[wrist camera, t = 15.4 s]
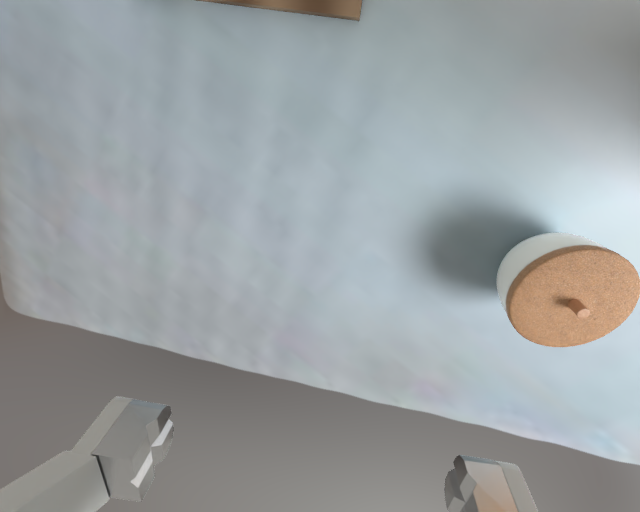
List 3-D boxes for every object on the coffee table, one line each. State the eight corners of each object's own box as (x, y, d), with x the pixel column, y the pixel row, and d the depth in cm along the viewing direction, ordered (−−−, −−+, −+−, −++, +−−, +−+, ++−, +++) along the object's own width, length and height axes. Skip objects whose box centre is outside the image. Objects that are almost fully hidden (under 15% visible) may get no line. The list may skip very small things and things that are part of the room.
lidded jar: (517, 317, 41) (557, 377, 32) (463, 260, 38) (491, 309, 30) (607, 264, 36) (680, 317, 28) (553, 196, 34) (616, 232, 26)
